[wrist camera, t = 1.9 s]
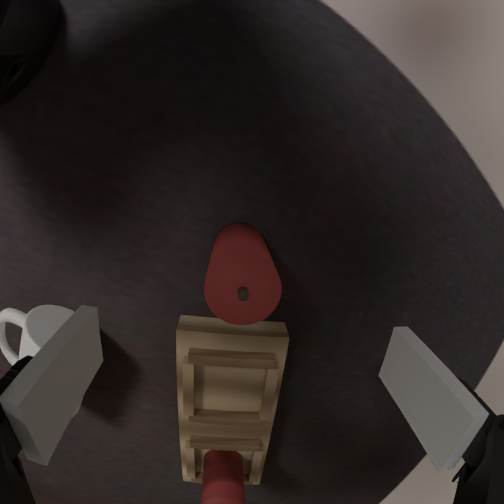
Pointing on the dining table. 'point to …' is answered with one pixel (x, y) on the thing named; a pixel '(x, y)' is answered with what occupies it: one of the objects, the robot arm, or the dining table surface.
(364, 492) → the dining table surface
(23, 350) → the mug
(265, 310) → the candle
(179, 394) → the oak candlestand
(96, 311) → the robot arm
